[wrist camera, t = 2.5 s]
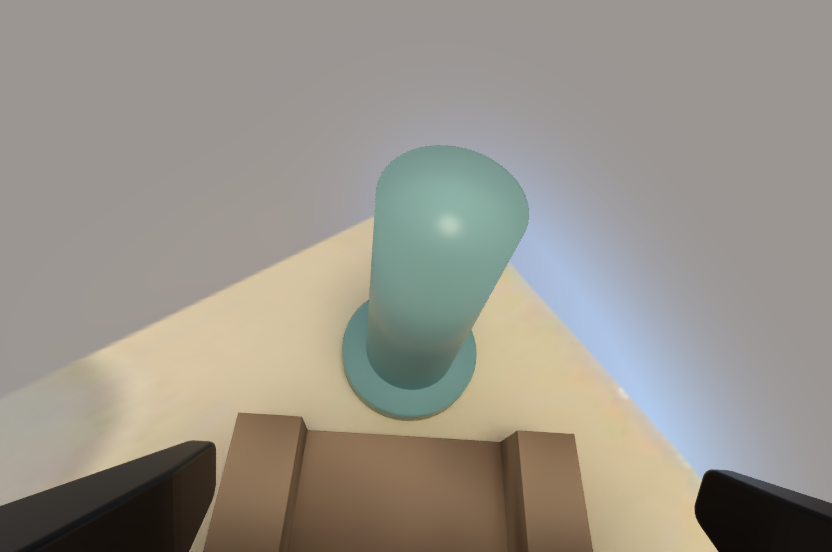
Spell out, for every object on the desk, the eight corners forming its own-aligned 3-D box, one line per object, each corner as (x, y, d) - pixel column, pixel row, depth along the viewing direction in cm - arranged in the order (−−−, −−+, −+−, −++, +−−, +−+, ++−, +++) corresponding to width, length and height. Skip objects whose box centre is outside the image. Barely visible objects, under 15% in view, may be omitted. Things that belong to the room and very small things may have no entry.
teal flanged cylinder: (484, 324, 25) (582, 163, 14) (449, 442, 21) (546, 343, 10) (373, 282, 25) (388, 97, 15) (320, 389, 21) (287, 245, 11)
